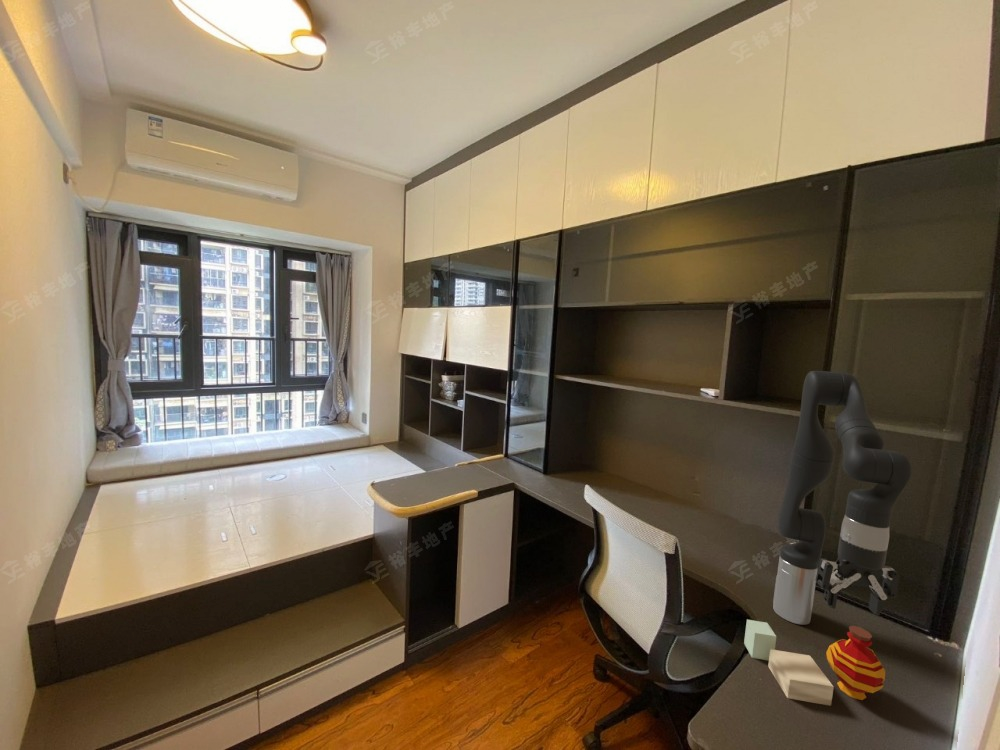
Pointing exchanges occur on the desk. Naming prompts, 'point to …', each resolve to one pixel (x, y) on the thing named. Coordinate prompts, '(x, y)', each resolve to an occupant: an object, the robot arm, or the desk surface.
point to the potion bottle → (856, 664)
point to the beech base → (800, 677)
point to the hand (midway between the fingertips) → (851, 609)
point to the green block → (759, 639)
